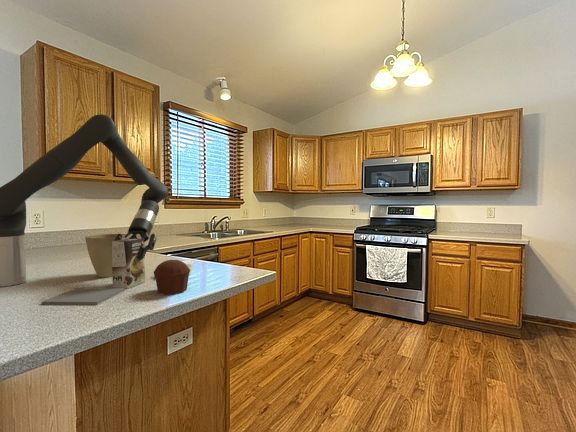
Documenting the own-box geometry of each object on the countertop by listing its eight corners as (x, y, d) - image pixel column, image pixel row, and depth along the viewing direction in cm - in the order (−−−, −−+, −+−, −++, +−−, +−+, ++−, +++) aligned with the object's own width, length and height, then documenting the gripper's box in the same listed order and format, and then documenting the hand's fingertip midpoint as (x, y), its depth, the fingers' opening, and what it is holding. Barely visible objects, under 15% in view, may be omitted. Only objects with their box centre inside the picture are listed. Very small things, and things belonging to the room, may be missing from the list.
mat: (41, 304, 87) (41, 301, 87) (76, 290, 101) (76, 288, 101) (97, 304, 87) (97, 301, 87) (124, 290, 101) (124, 288, 101)
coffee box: (128, 289, 103) (127, 241, 102) (111, 288, 104) (110, 240, 103) (146, 282, 112) (145, 238, 111) (130, 281, 113) (129, 237, 112)
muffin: (147, 291, 100) (146, 260, 100) (178, 284, 109) (178, 256, 108) (165, 298, 92) (164, 265, 92) (197, 290, 101) (197, 260, 100)
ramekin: (184, 270, 130) (183, 258, 130) (199, 274, 123) (199, 261, 123) (158, 275, 122) (158, 262, 122) (173, 280, 115) (173, 266, 115)
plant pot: (76, 278, 117) (75, 236, 117) (110, 270, 132) (109, 233, 131) (106, 281, 113) (105, 238, 112) (138, 272, 127) (137, 234, 126)
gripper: (120, 217, 115) (102, 252, 104) (158, 217, 114) (143, 252, 104) (128, 229, 120) (111, 264, 109) (164, 229, 120) (151, 264, 109)
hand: (127, 258), depth 106 cm, fingers open, 8 cm apart
